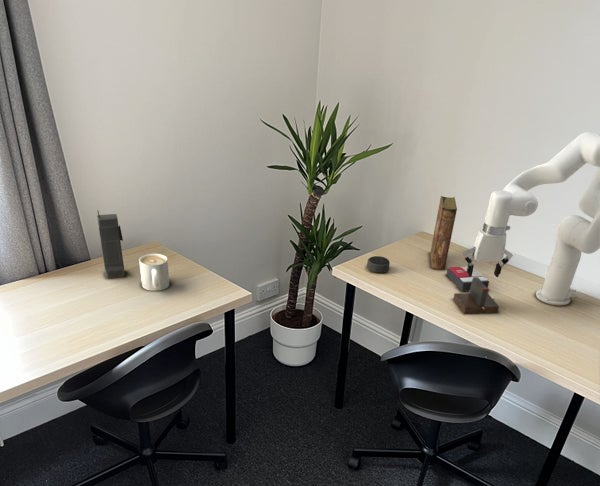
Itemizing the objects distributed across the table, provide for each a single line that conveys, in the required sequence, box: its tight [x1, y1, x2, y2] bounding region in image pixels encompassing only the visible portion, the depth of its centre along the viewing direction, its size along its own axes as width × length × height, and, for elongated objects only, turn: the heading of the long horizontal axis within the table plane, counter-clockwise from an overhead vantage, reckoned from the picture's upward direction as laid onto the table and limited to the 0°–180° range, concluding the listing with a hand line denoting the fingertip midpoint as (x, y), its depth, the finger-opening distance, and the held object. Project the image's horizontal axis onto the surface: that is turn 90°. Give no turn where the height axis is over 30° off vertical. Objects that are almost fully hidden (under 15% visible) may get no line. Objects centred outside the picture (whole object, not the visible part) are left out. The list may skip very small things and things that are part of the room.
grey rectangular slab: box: [468, 277, 489, 306], centre depth 220 cm, size 10×2×7 cm, turn 8°
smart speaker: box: [366, 255, 391, 274], centre depth 244 cm, size 9×9×4 cm
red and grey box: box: [446, 265, 490, 292], centre depth 238 cm, size 11×4×15 cm
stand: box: [452, 291, 500, 315], centre depth 223 cm, size 14×14×3 cm
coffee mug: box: [138, 253, 170, 292], centre depth 221 cm, size 13×10×10 cm
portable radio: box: [96, 211, 126, 279], centre depth 223 cm, size 8×6×25 cm
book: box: [429, 195, 458, 271], centre depth 247 cm, size 16×6×25 cm, turn 172°
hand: (482, 275), depth 217 cm, fingers open, 9 cm apart
